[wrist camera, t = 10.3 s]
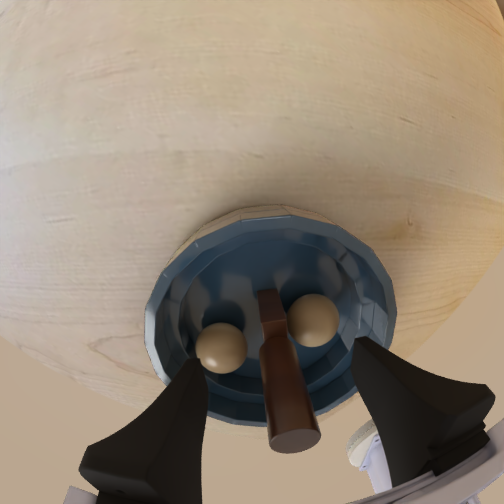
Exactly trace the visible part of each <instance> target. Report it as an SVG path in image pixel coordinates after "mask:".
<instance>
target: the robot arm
mask: <svg viewBox="0 0 504 504" xmlns="http://www.w3.org/2000/svg"><path fill="white" fill-rule="evenodd" d="M350 371H351V374H352V377H353V379H354V382H355V385H356V387H357V389H358V391H359V393H360V395H361V397H362V399H363V401H364V403H365V405H366V407H367V409H368V411H369V412H370V415H371V416H372V419H373V421H374V423H375V425H376V428H377V431H378V434H376V435H375V436H374V437H373V439H372V441H371V444H370V446H369V448H368V450H367V453H366V455H365V457H364V459H363V461H362V463H361V465H360V468H359V471H364V470H367V472H368V475H369V478H370V480H371V483H372V486H373V488H374V491H375V494H376V495H373V496H370V497H367V498H364V499H360V500H357V501H354V502H350V503H347V504H467V503H468V504H481V503H480V501H479V498H478V496H477V494H478V493H480V492H481V491H482V490H483V489H485V488H486V487H487V486H489V485H490V484H491V483H492V482H494V481H495V480H496V479H497V478H498V477H499V476H501V475H502V474H503V473H504V419H502V420H501V421H500V422H498V423H497V424H496V425H494V426H493V427H492V428H491V429H490V430H488V431H487V433H486V432H485V431H484V428H485V426H486V425H485V423H484V422H483V420H484V418H485V417H486V415H487V414H488V412H489V411H490V409H491V408H492V406H493V404H494V401H495V395H494V394H493V392H492V391H491V390H490V389H489V388H488V387H487V385H486V384H476V383H467V382H460V381H455V380H452V379H448V378H445V377H441V376H438V375H435V374H433V373H430V372H428V371H425V370H423V369H421V368H418V367H416V366H414V365H412V364H410V363H409V362H407V361H405V360H403V359H401V358H400V357H398V356H396V355H395V354H393V353H392V352H390V351H389V350H387V349H385V348H384V347H382V346H381V345H379V344H378V343H376V342H375V341H373V340H372V339H370V338H369V337H367V336H363V337H358V338H354V346H353V354H352V361H351V368H350ZM207 411H208V385H207V382H206V378H205V375H204V371H203V368H202V364H201V360H200V358H193V359H187V360H186V361H185V362H184V363H183V365H182V366H181V368H180V369H179V371H178V372H177V373H176V375H175V376H174V378H173V379H172V380H171V382H170V383H169V384H168V385H167V387H166V388H165V389H164V391H163V392H162V393H161V394H160V395H159V396H158V397H157V399H156V400H155V401H154V402H153V403H152V404H151V405H150V406H149V407H148V408H147V409H146V410H145V411H144V412H143V413H142V414H141V415H139V416H138V417H137V418H136V419H134V420H133V421H132V422H130V423H129V424H128V425H127V426H125V427H124V428H122V429H121V430H119V431H117V432H116V433H114V434H112V435H111V436H109V437H107V438H105V439H103V440H101V441H99V442H96V443H94V444H92V445H90V446H88V447H87V449H86V451H85V453H84V456H83V458H82V461H81V464H80V466H79V472H80V474H81V476H83V477H84V479H86V480H87V481H88V482H89V483H90V484H92V485H93V486H94V487H95V488H96V489H97V490H99V494H98V496H96V495H95V494H92V493H90V492H87V491H84V490H82V489H79V488H76V487H73V486H69V489H68V492H67V495H66V497H65V501H64V503H63V504H202V487H201V455H202V443H203V436H204V430H205V424H206V417H207Z"/></svg>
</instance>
